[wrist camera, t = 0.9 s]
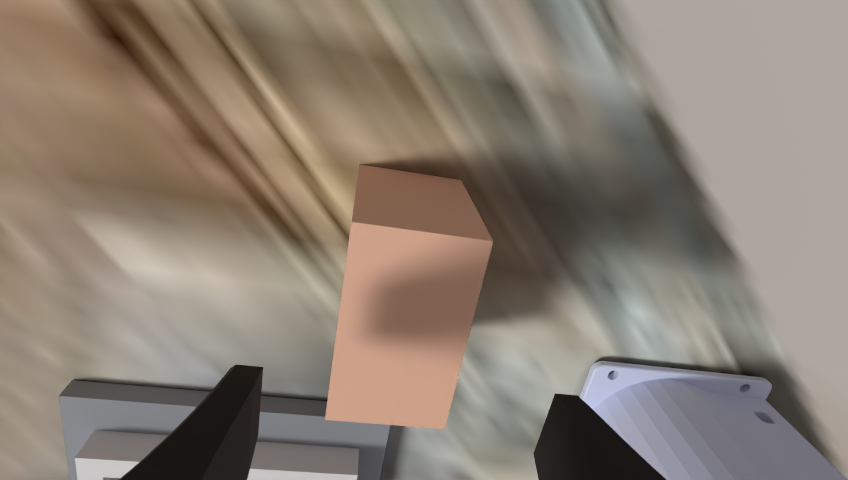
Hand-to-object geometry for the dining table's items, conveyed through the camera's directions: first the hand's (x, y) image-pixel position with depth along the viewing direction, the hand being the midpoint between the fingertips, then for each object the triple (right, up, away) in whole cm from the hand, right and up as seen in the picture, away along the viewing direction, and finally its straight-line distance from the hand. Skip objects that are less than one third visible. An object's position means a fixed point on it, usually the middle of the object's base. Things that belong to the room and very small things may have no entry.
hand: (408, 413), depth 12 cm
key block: (-1, +4, +8) cm, 9 cm away
